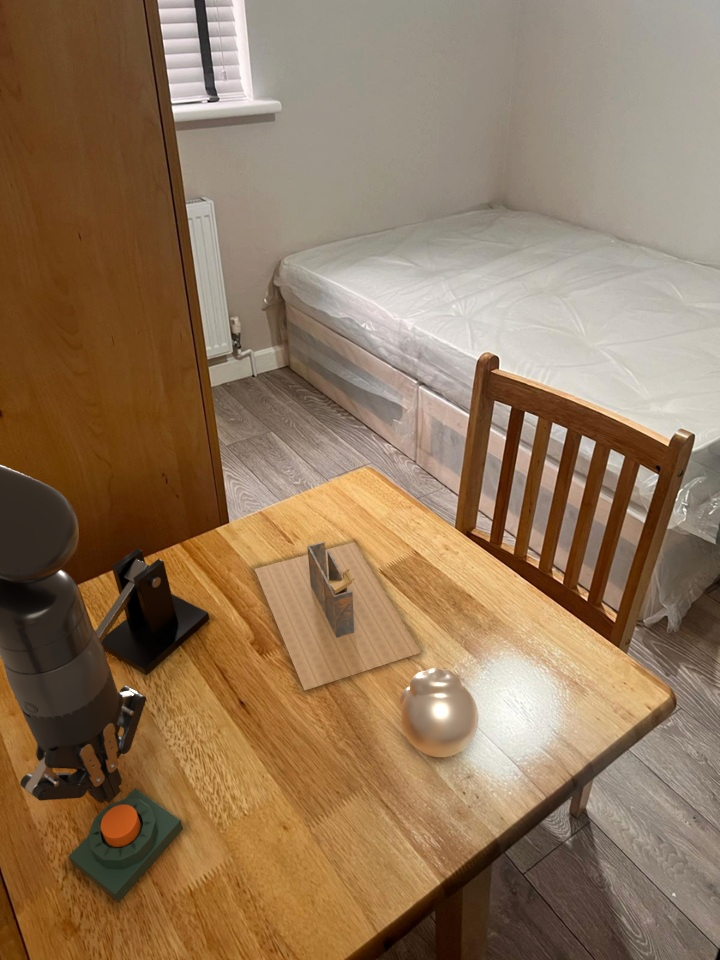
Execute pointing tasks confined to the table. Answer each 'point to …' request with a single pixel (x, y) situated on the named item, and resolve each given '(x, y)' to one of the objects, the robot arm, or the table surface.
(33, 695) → the robot arm
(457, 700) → the silver rounded lump
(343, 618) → the architectural model on board
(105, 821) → the button
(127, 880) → the button box
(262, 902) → the table surface
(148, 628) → the bracket
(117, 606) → the lever
